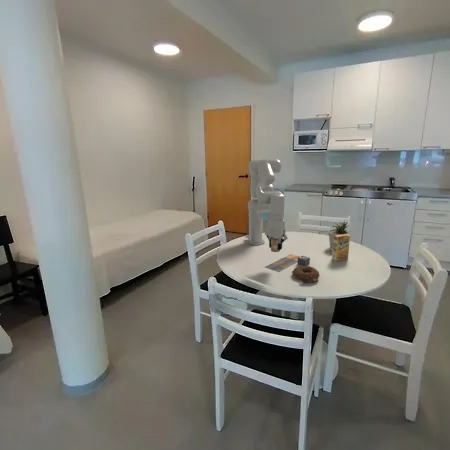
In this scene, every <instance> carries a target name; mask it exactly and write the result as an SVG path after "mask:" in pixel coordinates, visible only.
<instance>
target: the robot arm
mask: <svg viewBox="0 0 450 450" xmlns="http://www.w3.org/2000/svg"><path fill="white" fill-rule="evenodd" d="M281 171H282V164H281V160H279V159H277V158H272V159H271V158H265V159H256V160H250V161H249V162H248V172H249V176H250V189H249V191H250V196H251V198H254V199H249V201H248V203H247V208H248V209H247V210H248V234H246V236H245V237H244V238H245V239H247V240H246V243H247V244H248V245H250V246H251V245H253V246H260V245H263V244H265V240H264V239H263V221H264V220H263V217H262V215H261V213H268V216H269V218H268V219H267V222H266V230H265V232H264V235H265V236H266V238H267V240H268V241H269V242H268V243H269V244H268V247H269V248H270V249H271V238H277V239H278V241H279V243H278V250H280V251H281V250H282V249H283V243H284V242H285V241H287V240H288V239H289V238H288V236H287V234H286V233H287V232H286V231H287V230H286V229H287V228H286V221H285V219H284V217H285V201H286V199H285V198H286V197H285V195H284V194H283V193H282V192H281V191H279V190H274V189H275V188H274V186H273V184H274V183H275V181H276V175H275V174H278V173H280V172H281Z"/></svg>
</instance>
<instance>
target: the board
mask: <svg viewBox="0 0 450 450" xmlns="http://www.w3.org/2000/svg"><path fill="white" fill-rule="evenodd" d="M299 257H301V256H300V255H295V254H292V253H290V254H288V255H286V256H285V257H282V258H281V259H278V260H276V261H274V262H272V263H270V264H268V265H266V266H264V269H265V268H266V269H269V270H271V271H275V272H277V273H281V272H282V271H283V270H285V269H288V268H290V267H291V266H293V265H295V264H298V258H299Z"/></svg>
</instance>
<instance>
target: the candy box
mask: <svg viewBox="0 0 450 450" xmlns="http://www.w3.org/2000/svg"><path fill="white" fill-rule="evenodd" d="M350 238H351V235H350V234H340V235H334V239H333V249H332V254H331V255H332V256H331V259H332V260H334V261H344V260H349V251H350V242H351V241H350V240H351V239H350Z"/></svg>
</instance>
